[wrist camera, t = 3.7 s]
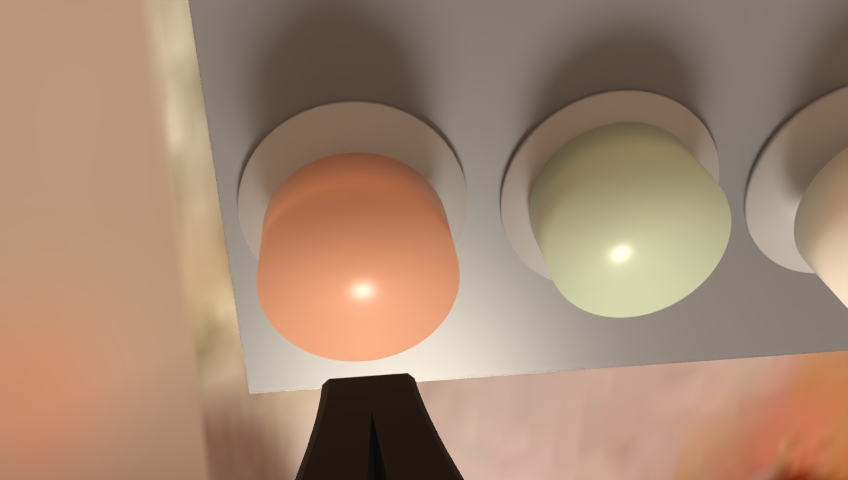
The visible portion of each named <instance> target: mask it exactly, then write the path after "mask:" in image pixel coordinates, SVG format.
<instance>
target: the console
mask: <svg viewBox="0 0 848 480" xmlns="http://www.w3.org/2000/svg"><path fill="white" fill-rule="evenodd" d="M189 5H190V12H191V18H192V25H193V31H194V38H195V44H196V51H197V57H198V64H199V70H200V77H201V83H202V90H203V96H204V103H205V109H206V116H207V122H208V129H209V135H210V142H211V148H212V155H213V161H214V168H215V174H216V181H217V187H218V194H219V200H220V207H221V213H222V220H223V226H224V233H225V239H226V246H227V252H228V259H229V265H230V272H231V278H232V285H233V291H234V298H235V304H236V311H237V317H238V324H239V330H240V337H241V343H242V350H243V356H244V363H245V369H246V376H247V382H248V389H249V394H254V393H268V392H282V391H296V390H310V389H322V385H323V384H324V383H325V382H326V381H327V380H328V379H332V378H346V377H359V376H373V375H387V374H401V373H408V374H410V375H411V376H412V377H414V378H415V381H416V382H420V381H434V380H448V379H461V378H475V377H489V376H503V375H517V374H530V373H544V372H558V371H572V370H586V369H599V368H613V367H627V366H641V365H655V364H668V363H682V362H696V361H710V360H724V359H737V358H751V357H765V356H779V355H793V354H806V353H820V352H834V351H848V308H847V307H846V306H845V305H844V304H843V303H842V301H841V300H840V299H839V298H838V297H837V296H836V295H835V294H834V293H833V292H832V291H831V289H830V288H829V287H828V286H827V285H826V284H825V283H824V282H823V281H822V280H821V279H820V277H819V276H818V275H817V274H816V273H815V272H814V271H813V270H812V269H811V268H810V266H809V265H808V264H807V263H806V262H805V261H804V260H803V258H802V257H801V255H800V254H799V252H798V249H797V247H796V243H795V240H794V220H795V216H796V211H797V208H798V206H799V203H800V200H801V198H802V196H803V194H804V192H805V191H806V189H807V187H808V186H809V184H810V183H811V181H812V180H813V179H814V178H815V176H816V175H817V174H818V173H819V171H820V170H821V169H822V168H823V167H824V166H825V165H826V164H827V163H828V162H829V161H831V160H832V159H833V158H834V157H835V156H836V155H838V154H839V153H840V152H842V151H843V150H845V149H846V148H847V147H848V0H189ZM622 122H638V123H645V124H649V125H653V126H656V127H659V128H661V129H663V130H666V131H668V132H669V133H671V134H672V135H674V136H675V137H676V138H677V139H679V140H680V141H681V142H682V143H683V144H684V145H685V146H686V148H687V149H688V150H689V151H690V152H691V153H692V154H693V156H694V157H695V158H696V159H697V160H698V161H699V162H700V164H701V165H702V166H703V167H704V168H705V169H706V170H707V171H708V173H709V174H710V175H711V176H712V177H713V178H714V179H715V181H716V182H717V183H718V184H719V186H720V187H721V188H722V190H723V192H724V194H725V196H726V197H727V200H728V203H729V207H730V212H731V231H730V237H729V240H728V244H727V247H726V249H725V251H724V254H723V256H722V258H721V260H720V261H719V263H718V265H717V266H716V268H715V269H714V270H713V272H712V273H711V274H710V275H709V277H708V278H707V279H706V280H705V281H704V282H703V283H702V284H701V285H700V286H699V287H698V288H696V289H695V290H694V291H693V292H692V293H690V294H689V295H687V296H686V297H684V298H683V299H681V300H680V301H678V302H676V303H674V304H672V305H671V306H668V307H666V308H664V309H661V310H659V311H656V312H653V313H650V314H645V315H641V316H635V317H623V318H615V317H605V316H600V315H596V314H592V313H590V312H587V311H584V310H582V309H580V308H579V307H577V306H575V305H574V304H572V303H571V302H570V301H568V300H567V299H566V298H565V297H564V296H563V295H562V294H561V293H560V291H559V290H558V288H557V287H556V286H555V284H554V282H553V280H552V278H551V275H550V273H549V270H548V268H547V266H546V263H545V261H544V259H543V256H542V254H541V252H540V249H539V247H538V244H537V242H536V240H535V237H534V235H533V232H532V229H531V226H530V219H529V204H530V197H531V193H532V190H533V187H534V184H535V182H536V180H537V178H538V176H539V174H540V172H541V171H542V169H543V168H544V166H545V165H546V164H547V162H548V161H549V160H550V159H551V157H552V156H553V155H554V154H555V153H556V152H557V151H558V150H559V149H561V148H562V147H563V146H564V145H566V144H567V143H568V142H570V141H571V140H573V139H574V138H576V137H578V136H579V135H581V134H583V133H585V132H587V131H589V130H592V129H595V128H598V127H600V126H604V125H608V124H613V123H622ZM350 152H365V153H372V154H379V155H383V156H387V157H390V158H393V159H395V160H398V161H400V162H402V163H404V164H406V165H408V166H410V167H412V168H413V169H414V170H416V171H417V172H418V173H420V174H421V175H422V176H423V177H424V178H425V179H426V180H427V181H428V182H429V183H430V184H431V185H432V187H433V188H434V189H435V190H436V192H437V194H438V195H439V197H440V199H441V201H442V203H443V206H444V209H445V212H446V216H447V219H448V223H449V227H450V231H451V235H452V239H453V243H454V246H455V250H456V254H457V258H458V263H459V271H460V281H459V289H458V293H457V296H456V300H455V302H454V304H453V307H452V309H451V311H450V312H449V314H448V315H447V317H446V319H445V320H444V321H443V322H442V324H441V325H440V326H439V327H438V328H437V329H436V330H435V331H434V332H433V333H432V334H431V335H430V336H429V337H427V338H426V339H425V340H423V341H422V342H420V343H419V344H417V345H415V346H414V347H412V348H410V349H408V350H406V351H404V352H401V353H399V354H396V355H393V356H390V357H387V358H382V359H378V360H371V361H358V362H349V361H338V360H333V359H327V358H324V357H320V356H317V355H314V354H312V353H309V352H307V351H304V350H303V349H301V348H299V347H297V346H295V345H294V344H292V343H291V342H290V341H288V340H287V339H285V338H284V337H283V336H282V335H281V334H280V333H279V332H278V331H277V330H276V329H275V328H274V327H273V325H272V324H271V323H270V322H269V320H268V318H267V317H266V315H265V313H264V311H263V309H262V307H261V304H260V301H259V297H258V293H257V282H256V278H257V269H258V260H259V252H260V244H261V235H262V227H263V219H264V216H265V212H266V209H267V207H268V204H269V202H270V200H271V198H272V197H273V195H274V194H275V192H276V190H277V189H278V188H279V187H280V186H281V184H282V183H283V182H284V181H285V180H286V179H287V178H289V177H290V176H291V175H292V174H293V173H294V172H296V171H297V170H299V169H300V168H302V167H303V166H305V165H307V164H309V163H311V162H313V161H315V160H318V159H321V158H324V157H327V156H331V155H335V154H341V153H350Z"/></svg>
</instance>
